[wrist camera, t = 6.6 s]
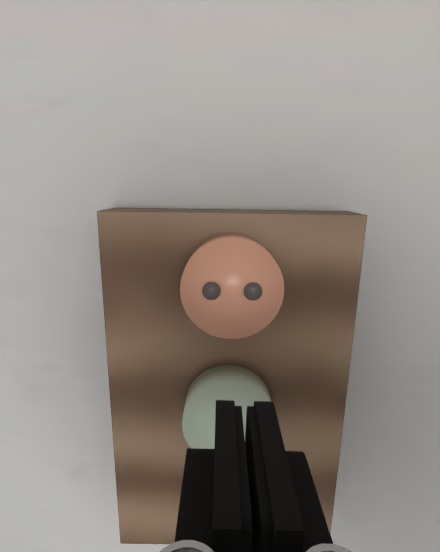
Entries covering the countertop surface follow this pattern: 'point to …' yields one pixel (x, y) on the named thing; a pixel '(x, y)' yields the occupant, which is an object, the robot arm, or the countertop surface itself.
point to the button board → (222, 344)
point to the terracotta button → (231, 286)
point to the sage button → (218, 386)
